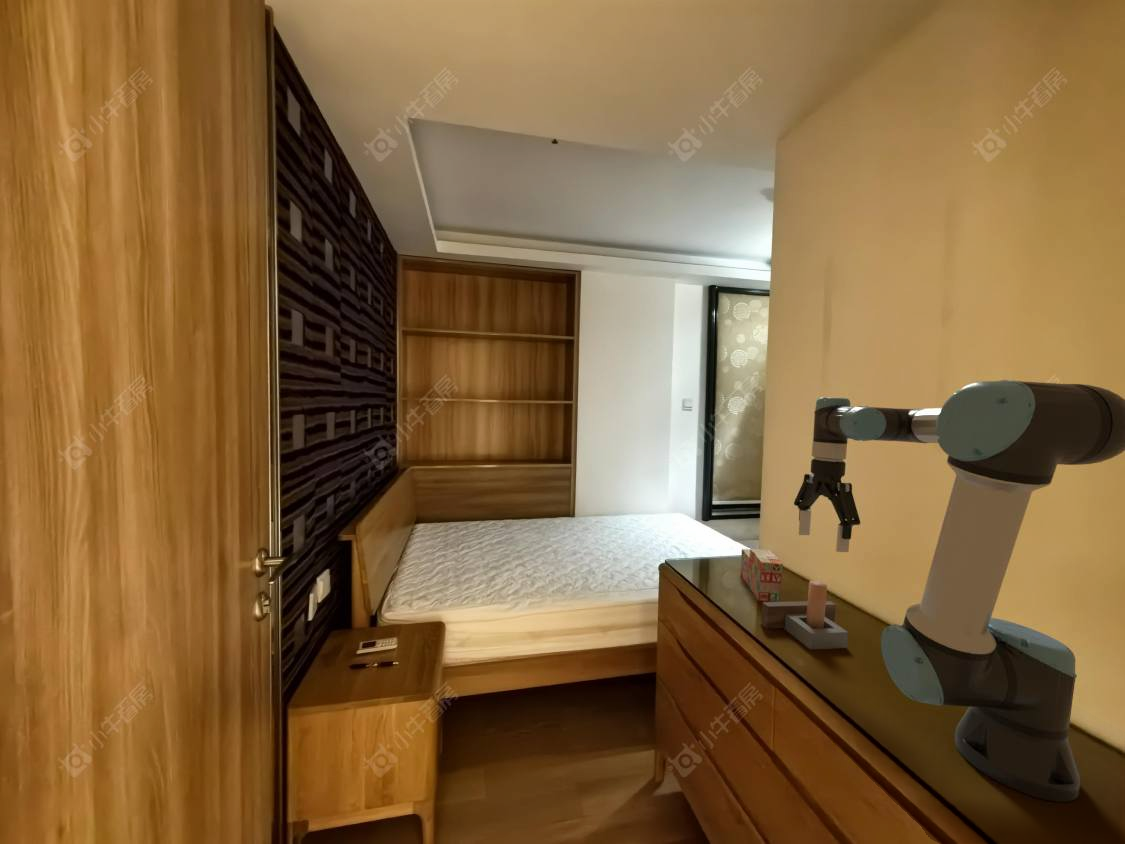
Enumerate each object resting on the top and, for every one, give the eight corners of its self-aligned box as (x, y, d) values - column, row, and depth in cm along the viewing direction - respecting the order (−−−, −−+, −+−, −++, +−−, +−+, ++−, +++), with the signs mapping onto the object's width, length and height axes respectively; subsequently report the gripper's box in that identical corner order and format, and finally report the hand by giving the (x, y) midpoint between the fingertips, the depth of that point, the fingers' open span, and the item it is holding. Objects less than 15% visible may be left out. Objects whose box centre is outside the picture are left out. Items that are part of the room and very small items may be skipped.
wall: (834, 626, 127) (835, 604, 126) (766, 628, 124) (768, 606, 123) (827, 621, 129) (829, 600, 129) (761, 624, 126) (762, 602, 126)
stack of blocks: (739, 574, 162) (742, 539, 161) (758, 576, 161) (761, 541, 161) (758, 601, 141) (761, 561, 140) (780, 603, 140) (783, 563, 139)
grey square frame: (846, 647, 116) (848, 632, 115) (810, 649, 114) (811, 633, 114) (818, 627, 125) (819, 613, 125) (784, 629, 124) (785, 614, 124)
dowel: (820, 642, 117) (825, 588, 117) (803, 637, 120) (807, 583, 119) (824, 637, 120) (828, 583, 120) (807, 631, 123) (811, 579, 122)
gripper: (883, 467, 106) (875, 559, 107) (808, 453, 130) (802, 528, 132) (853, 466, 105) (846, 560, 106) (783, 452, 129) (778, 528, 130)
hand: (822, 542), depth 119 cm, fingers open, 13 cm apart
